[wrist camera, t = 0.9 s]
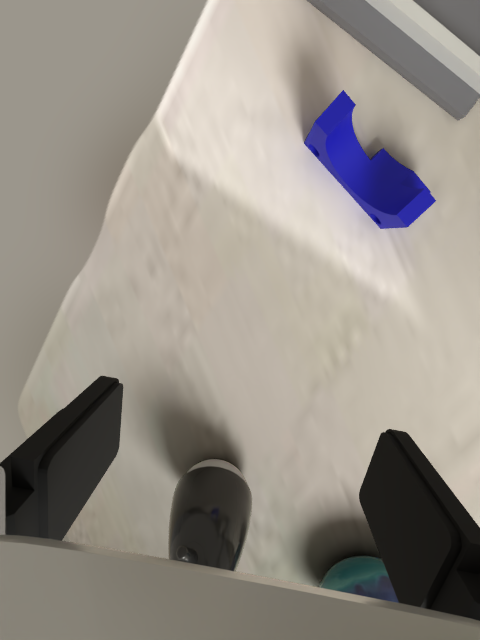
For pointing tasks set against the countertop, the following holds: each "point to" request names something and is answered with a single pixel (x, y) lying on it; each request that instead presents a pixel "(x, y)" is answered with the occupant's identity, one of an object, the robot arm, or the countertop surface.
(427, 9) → the plate
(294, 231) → the countertop surface
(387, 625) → the robot arm
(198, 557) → the grey egg-shaped dome
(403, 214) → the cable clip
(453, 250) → the countertop surface
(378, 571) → the blue lidded pot
